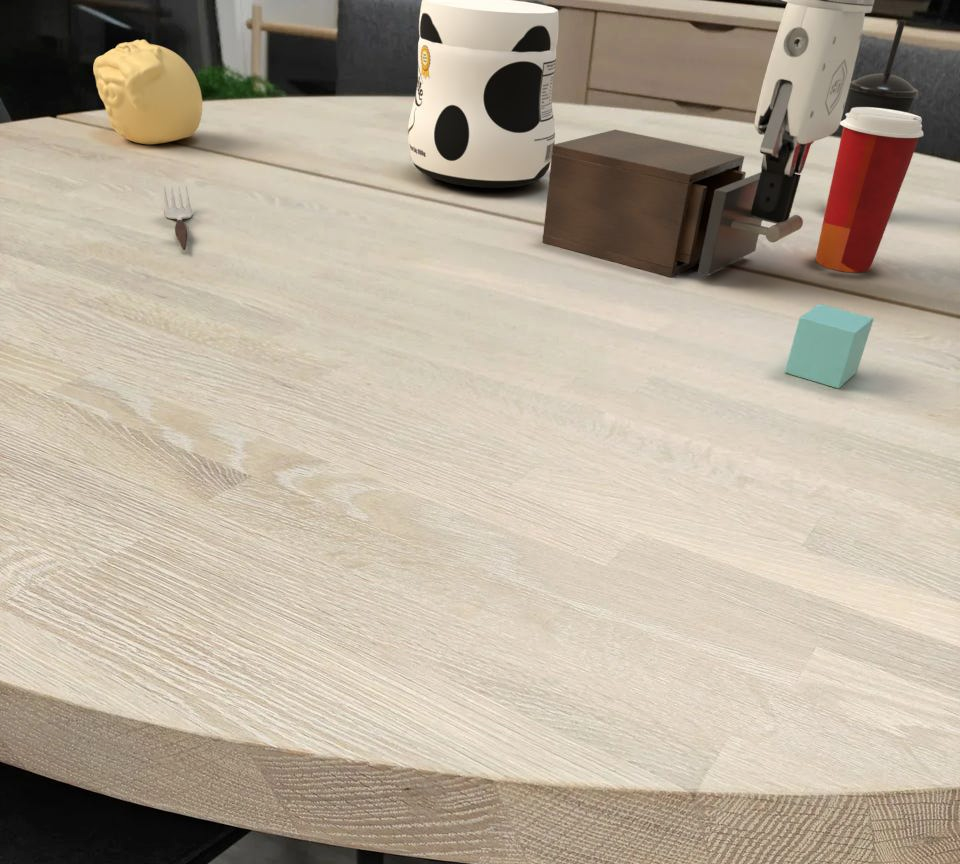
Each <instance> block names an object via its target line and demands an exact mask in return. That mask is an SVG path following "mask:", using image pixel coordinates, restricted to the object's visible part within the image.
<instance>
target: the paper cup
mask: <svg viewBox="0 0 960 864" xmlns="http://www.w3.org/2000/svg"><path fill="white" fill-rule="evenodd" d="M845 113H846V112H845ZM846 116H847V117H846V119H845V118H844V119H845V120H844V119H843V120H841V122H840V125H839V126H842V129H843V132H842V131H841V135H842V136H840V140H841V141H840V140H839V146H838V151H837V155H836V160H835V165H834V169H833V174H832V179H831V183H830V187H829V193H828V196H827V201H826V205H825V206H826V207H825V210H824V214H823V215H824V216H823V220H822V225H821V230H820V234H819V239H818V245H817V249H816V254H815V255H816V256H815V262H816V263H817V264H818V265H820V266H822V267H825V268H827V269H830V270H833V271H834V270H835V271H837V272H844V273H845V272H846V273H864V272H869V271H870V269H871V267H872V266H873V263H874V260H875V258H876V255H877V253H878V250H879V247H880V245H881V242H882V239H883V236H884V234H885V232H886V228H887V226H888V223H889V220H890V218H891V215H892V212H893V210H894V207H895V204H896V202H897V198H898V196H899V193H900V191H901V188H902V185H903V183H904V180H905V177H906V175H907V173H908V170H909V167H910V164H911V161H912V159H913V156H914V153H915V150H916V147H917V145H918V142H919V140H920V138H922V137H924V135H925V134H924V131H923V129H922V128H923V125H922V123H923V121H922V120H923V119H922V117H921V116H919V115H916V114H913V113H910V112H908V113H906V112H902V111H896V110H890V109H883V108H872V107H855V108H852V109H851V111H850V113H846ZM843 126H844V127H843Z"/></svg>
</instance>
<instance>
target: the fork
mask: <svg viewBox="0 0 960 864" xmlns="http://www.w3.org/2000/svg"><path fill="white" fill-rule="evenodd" d="M170 193H171V208H170V206H169V202H168V201H169V200H168V197H167V190H166V186H163V194H164V195H163V197H164V198H163V199H164V216H165V217H166V218H168V219H170V220H176V223H175V226H174V234H175V236H176V238H177V240H178V242H179V245H180V246H181V249H182V251H186V248H187V240H188V234H189V233H188V228H187V226H186V224H185V223H184V221H183V220H189V219H191V218H192V216H193V211H192V207H191V202H190V198H189V192H188V186H185V198H186V199H185V200H186V201H185V203H186V208H185V207H184V204H183V203H184V202H183V199H182V193H181V189H180V187H178V205H179V206H178V208H177V205H176V200H175V194H174V190H173V186H171V192H170Z"/></svg>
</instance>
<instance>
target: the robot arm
mask: <svg viewBox="0 0 960 864" xmlns="http://www.w3.org/2000/svg"><path fill="white" fill-rule="evenodd" d="M781 1H782V2H785V3H786V5H785V8H784V11H783V13H782V14H783V15H782V17H781V20H780V23H779V27H778V30H777V33H776V36H775V40H774V43H773V45H772V50H771V53H770V57H769V60H768V63H767V67H766V71H765V74H764V77H763V82H762V85H761V89H760V93H759V97H758V103H757V107H756V112H755V118H754V123H753V124H754V128H755V130H756V132H757V133H758V135H762V136H763V138H762V141H761V144H760V148H759V153H760V154H762V155H763V156H762V162H761V166H760V167H761V168H760V169H761V170H760V172H761V174H760V178H759V182H758V186H757V190H756V194H755V198H754V202H753V206H752V210H751V214H752V215H753V216H756V217H759V218H763V219H767V220H771V221H774V222H782V221H784V220H786V219H788V218H789V217H791V212H792V208H793V206H794V205H793V204H794V203H795V202H794V201H795V198H796V194H797V191H798V186H799V183H800V180H801V176H802V175H801V173H802V171H803V170H804V167H805V165H806V162H807V159H808V155H809V152H810V149H811V146H812V145H813V144H814V142H816V141H819V140H822V139H825V138H828V137H829V136H832V135H833V134H834V133H836V132H837V130H839V128H840V126H841V125H840V122H841V121H842V118H843V114H844V111H845V108H846V107H845V106H846V104H847V100H848V96H849V91H850V88H849V87H850V83H851V81H852V78H853V74H854V71H855V66H856V62H857V57H858V53H859V49H860V44H861V40H862V35H863V34H862V33H863V29H864V23H865V15H866V14H871V13H872V11H873V7H874V4H875V0H781Z"/></svg>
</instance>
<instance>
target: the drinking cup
mask: <svg viewBox="0 0 960 864" xmlns="http://www.w3.org/2000/svg"><path fill="white" fill-rule="evenodd" d="M905 25H906V20H903V19H900V20H898V23H897V27H896V31H895V33H894V37H893V40H892V44H891V48H890V51H889V55H888V59H887V63H886V66H885V70H884V73H880V72H879V73H871V74H868V75H867V74H866V75H864V76H861V77H859V78H858V79H855V80H851V83H850V87H849V91H848V96H847V101H846V107H845V113H844V114H845V115H844V119H843V120H845V119H846V117H847V116H846V113H850V111H851V109H852V108H855V107H872V108H883V109H890V110H896V111H902V112H906V113H910V109H911V107H912V104H913V101H914V99H915V98H917V97H918V95H919V89H917V88H915V87H913V86H912V84H911V83H910V82H908V81H907V80H905V79H904V78H902V77H900V76H897V75H894V74H892V71H893V66H894V63H895V59H896V56H897V53H898V50H899V45H900V42H901V39H902V36H903V32H904V28H905ZM843 127H844V126H842V130H841V133H842V132H843ZM841 136H842V134H841ZM841 136H840V137H841ZM840 141H841V139H840V140H839V142H840Z"/></svg>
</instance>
